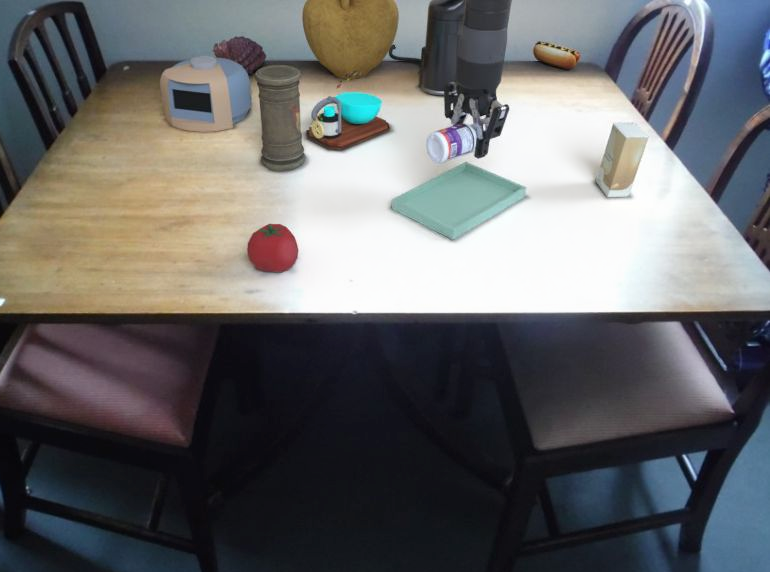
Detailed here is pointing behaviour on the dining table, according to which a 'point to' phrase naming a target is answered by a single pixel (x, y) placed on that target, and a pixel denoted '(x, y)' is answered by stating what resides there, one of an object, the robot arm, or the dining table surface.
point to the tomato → (273, 248)
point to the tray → (458, 199)
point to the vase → (350, 33)
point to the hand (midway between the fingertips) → (468, 150)
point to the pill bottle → (451, 142)
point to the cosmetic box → (621, 159)
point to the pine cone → (241, 52)
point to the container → (280, 117)
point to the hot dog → (556, 55)
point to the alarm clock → (205, 94)
